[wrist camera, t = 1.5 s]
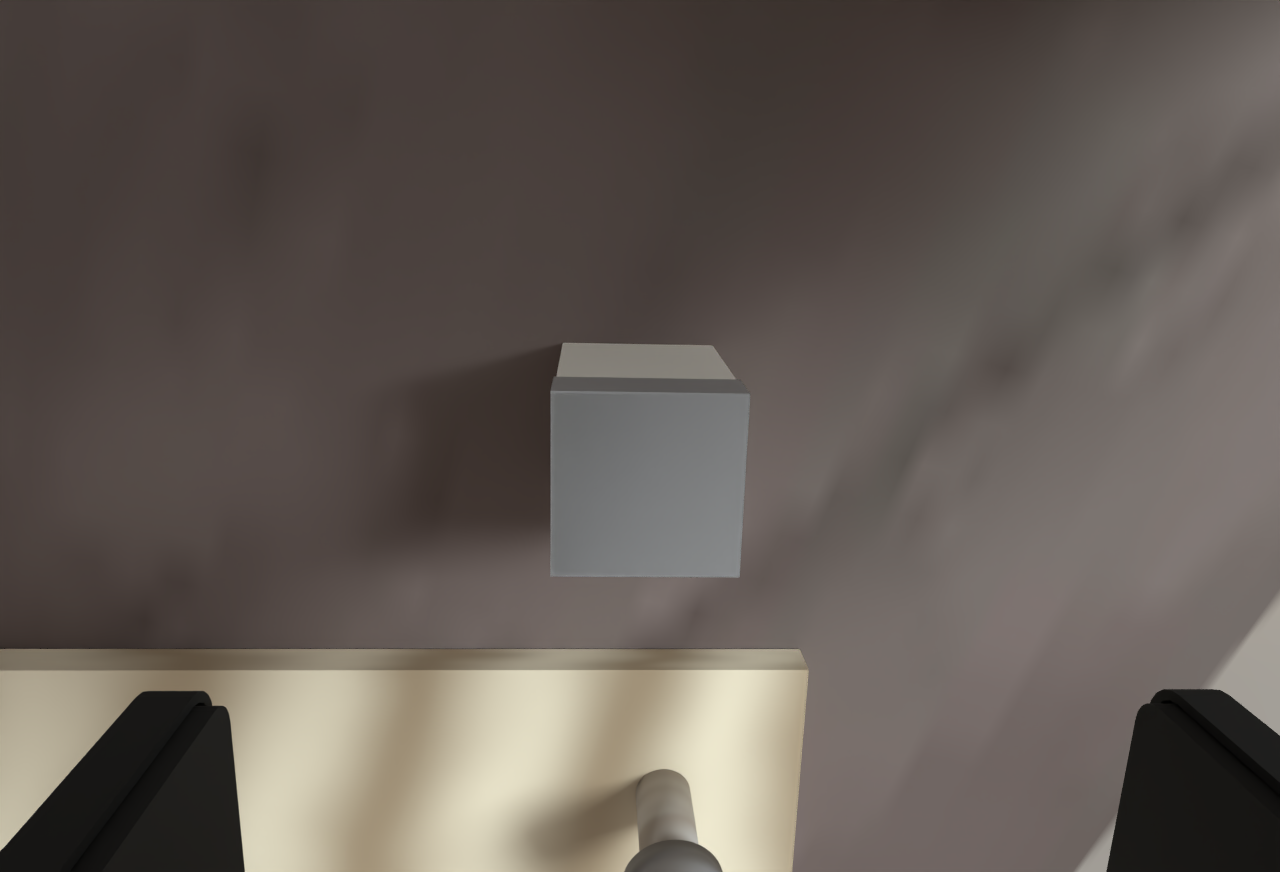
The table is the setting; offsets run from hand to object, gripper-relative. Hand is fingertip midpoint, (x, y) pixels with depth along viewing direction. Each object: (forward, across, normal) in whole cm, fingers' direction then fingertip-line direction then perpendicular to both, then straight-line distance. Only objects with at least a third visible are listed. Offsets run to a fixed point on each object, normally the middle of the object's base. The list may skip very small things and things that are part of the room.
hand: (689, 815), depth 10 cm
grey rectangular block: (+16, 0, 0) cm, 17 cm away
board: (+17, +7, +14) cm, 23 cm away
